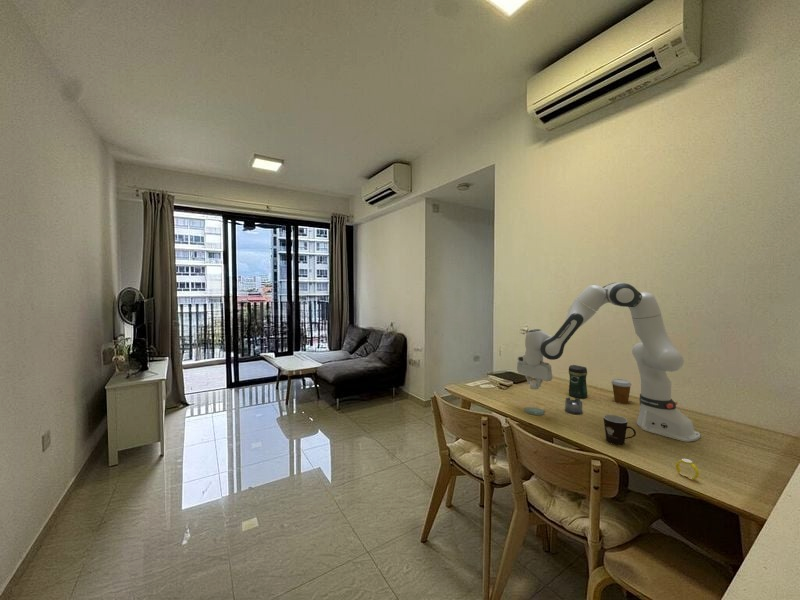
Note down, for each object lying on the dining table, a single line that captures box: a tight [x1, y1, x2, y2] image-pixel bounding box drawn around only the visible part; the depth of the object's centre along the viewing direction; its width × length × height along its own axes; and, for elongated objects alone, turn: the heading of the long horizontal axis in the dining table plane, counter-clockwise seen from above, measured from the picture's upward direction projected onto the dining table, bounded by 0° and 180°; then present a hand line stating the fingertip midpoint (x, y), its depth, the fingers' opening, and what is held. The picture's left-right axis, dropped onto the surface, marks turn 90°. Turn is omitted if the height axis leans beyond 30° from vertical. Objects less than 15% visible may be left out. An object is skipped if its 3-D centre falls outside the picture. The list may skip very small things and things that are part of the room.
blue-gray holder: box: [564, 397, 583, 415], centre depth 169 cm, size 8×8×6 cm
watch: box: [675, 458, 700, 480], centre depth 110 cm, size 6×3×6 cm, turn 24°
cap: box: [529, 377, 540, 390], centre depth 169 cm, size 5×4×5 cm
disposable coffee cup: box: [611, 378, 632, 405], centre depth 181 cm, size 10×10×12 cm
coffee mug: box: [602, 414, 637, 446], centre depth 134 cm, size 12×9×10 cm
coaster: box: [524, 406, 546, 416], centre depth 170 cm, size 10×10×1 cm
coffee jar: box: [568, 364, 588, 399], centre depth 192 cm, size 10×8×19 cm
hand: (534, 385), depth 169 cm, fingers closed on cap, 4 cm apart
